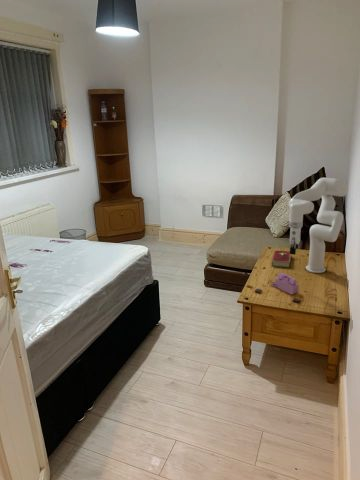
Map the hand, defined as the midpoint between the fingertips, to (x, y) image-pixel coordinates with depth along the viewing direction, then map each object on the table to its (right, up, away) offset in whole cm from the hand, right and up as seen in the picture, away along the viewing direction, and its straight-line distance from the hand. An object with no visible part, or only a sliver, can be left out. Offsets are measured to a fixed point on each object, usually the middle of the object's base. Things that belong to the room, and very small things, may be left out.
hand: (293, 251), depth 213 cm
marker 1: (-21, -25, +3) cm, 32 cm away
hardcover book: (+5, -9, +44) cm, 45 cm away
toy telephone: (-4, -24, +5) cm, 24 cm away
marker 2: (-2, -28, -10) cm, 30 cm away
